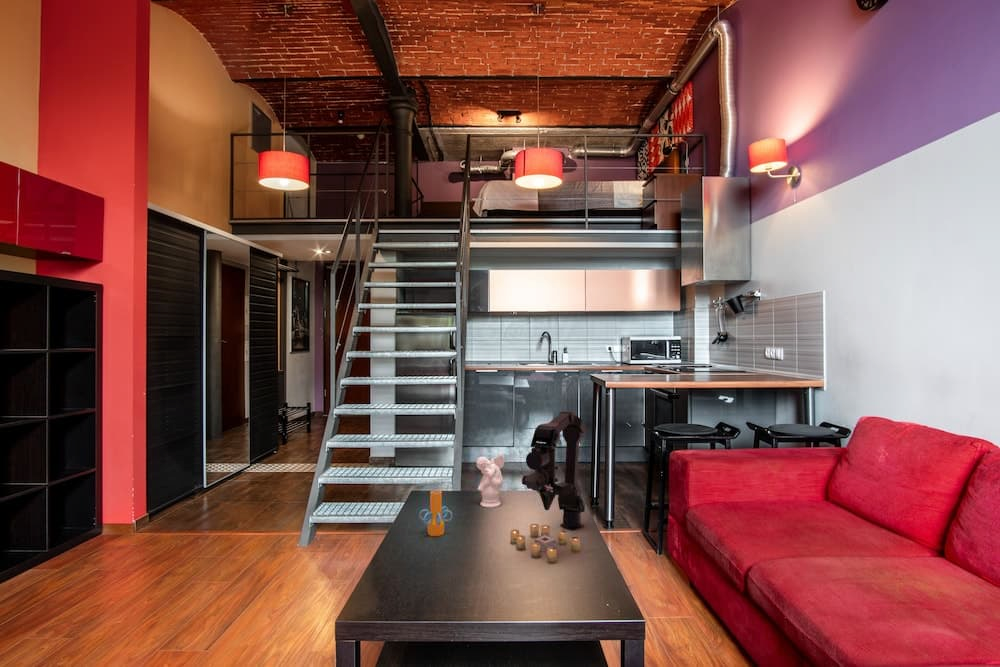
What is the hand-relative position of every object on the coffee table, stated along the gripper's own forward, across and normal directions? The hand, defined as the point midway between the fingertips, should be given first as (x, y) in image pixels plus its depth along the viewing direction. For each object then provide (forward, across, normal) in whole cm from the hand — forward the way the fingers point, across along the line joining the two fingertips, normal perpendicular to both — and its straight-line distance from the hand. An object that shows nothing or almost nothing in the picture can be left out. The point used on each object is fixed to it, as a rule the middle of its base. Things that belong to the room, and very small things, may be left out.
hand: (546, 510), depth 170 cm
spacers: (+13, -1, 0) cm, 13 cm away
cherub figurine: (+13, -48, +17) cm, 52 cm away
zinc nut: (+13, -1, 0) cm, 13 cm away
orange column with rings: (+13, -36, -20) cm, 43 cm away
